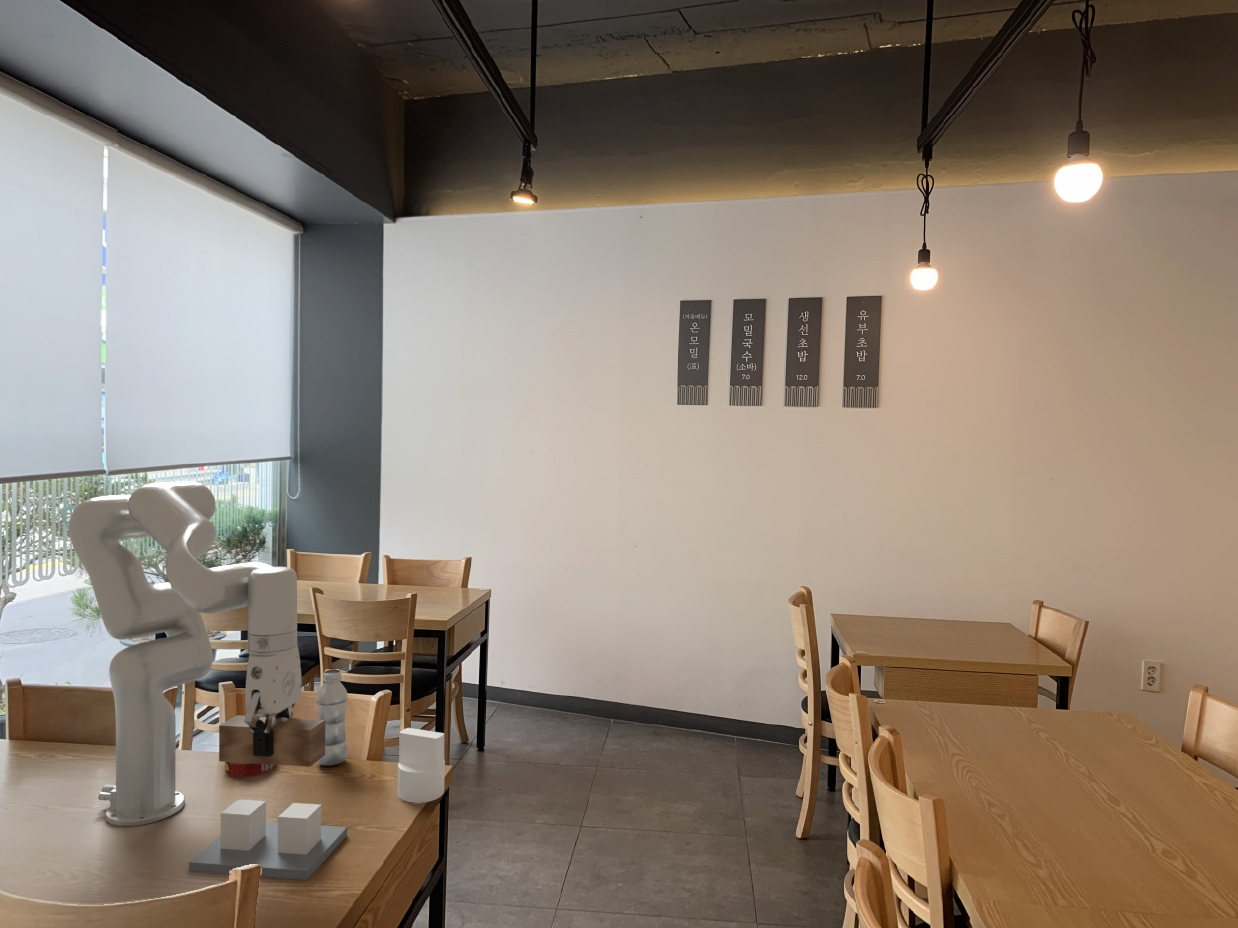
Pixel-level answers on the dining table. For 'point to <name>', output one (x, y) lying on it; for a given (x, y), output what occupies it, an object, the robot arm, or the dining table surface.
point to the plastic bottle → (333, 717)
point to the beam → (274, 741)
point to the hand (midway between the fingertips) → (272, 747)
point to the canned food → (246, 769)
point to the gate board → (270, 841)
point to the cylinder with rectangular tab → (421, 765)
